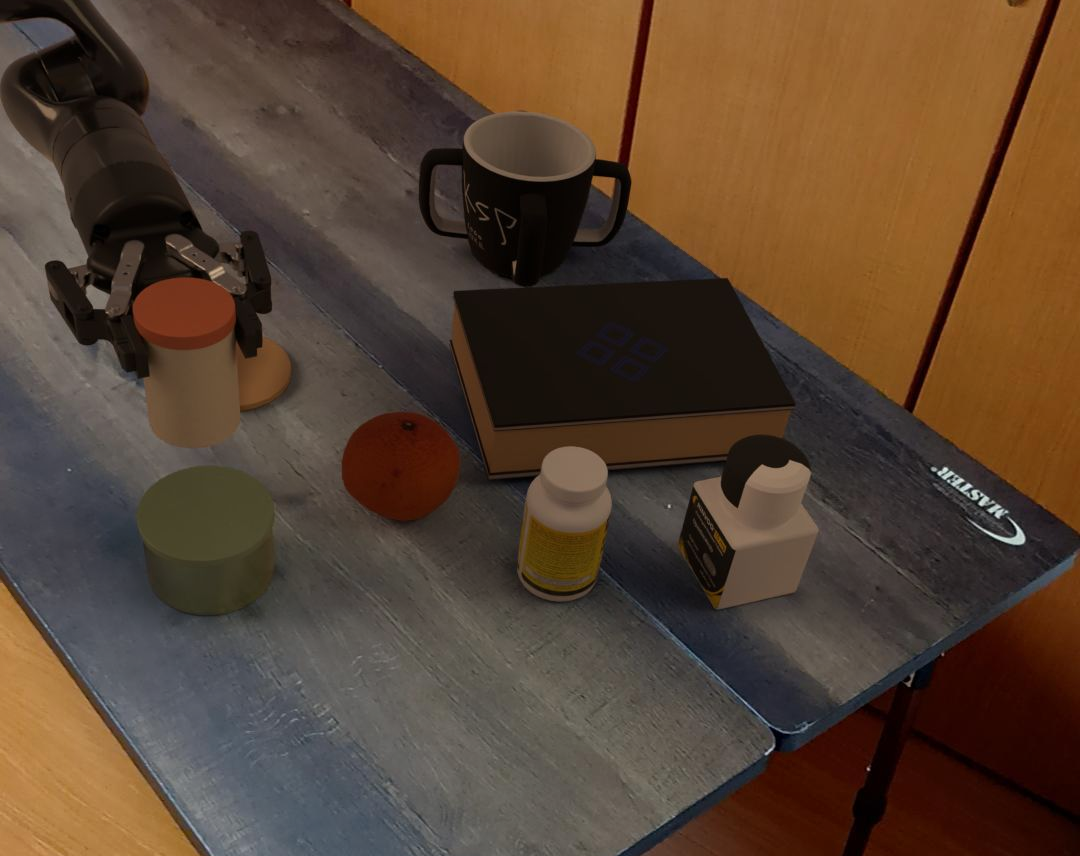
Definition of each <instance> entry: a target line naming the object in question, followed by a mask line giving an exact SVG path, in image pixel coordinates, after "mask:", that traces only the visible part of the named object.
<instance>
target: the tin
mask: <svg viewBox="0 0 1080 856" xmlns="http://www.w3.org/2000/svg"><path fill="white" fill-rule="evenodd" d="M275 510H276V509H275V504H274V500H273V497H272V495H271V493H270V491H269V490H268V489H267V488H266V486H265V485H263V483H262V482H261V481H260V480H258V479H257V478H256V477H254V476H253V475H250V474H249V473H246V472H244V471H242V470H239V469H236V468H234V467H233V468H232V467H228V466H221V465H198V466H192V467H191V466H190V467H187V468H182V469H179V470H177V471H174V472H171V473H169V474H167V475H165V476H163V477H162V478H160V479H158V480H157V481H156V482H155V483H153V484H151V486H150V487H149V488H147V490H146V491H145V492H144V494H143V495H142V497H141V499H140V500H139V502H138V505H137V508H136V514H135V515H136V516H135V518H136V520H135V521H136V526H137V531H138V534H139V537H140V539H141V541H142V545H143V546H142V547H143V552H144V558H145V566H146V571H147V578H148V582H149V584H150V587H151V589H152V591H153V592H154V594H155V595H156V596H157V598H158V599H160V600H161V602H163V603H164V604H166V605H167V606H169V607H170V608H172V609H174V610H177V611H179V612H182V613H185V614H190V615H196V616H220V615H225V614H229V613H232V612H236V611H238V610H241V609H243V608H245V607H247V606H248V605H250V604H252V603H254V602H255V601H256V600H258V599H259V598H260V597H261V596H262V595H263V594H264V593H265V592H266V591H267V589H268V588H269V586H270V584H271V583H272V580H273V577H274V574H275V566H276V565H275V547H274V529H273V528H274V525H275V519H276V518H275V517H276V511H275Z"/></svg>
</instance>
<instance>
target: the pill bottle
mask: <svg viewBox="0 0 1080 856" xmlns="http://www.w3.org/2000/svg"><path fill="white" fill-rule="evenodd" d="M608 475H609V470H607V466H606V464H605V463H604V461H603V460H602V459H601V458H600V457H599V456H598V455H597V454H595V453H594V452H592V451H590V450H587V449H584V448H581V447H573V446H568V447H561V448H558V449H555V450H553V451H551V452H550V453H549V454H548V455H547V456H546V457H545V458H544V460H543V463H542V467H541V473H540V475H539V476H535V478H534V479H533V480H532V481H531V483H530V485H529V487H528V488H527V493H526V497H525V503H524V510H523V517H522V522H521V523H522V526H521V530H520V538H519V545H518V552H517V561H516V569H517V570H516V571H517V576H518V578H519V580H520V582H521V584H522V585H523V587H524V588H525V589H527V591H529V592H530V593H531V594H532V595H534V596H536V597H538V598H541V599H543V600H547V601H551V602H559V603H560V602H561V603H562V602H570V601H575V600H577V599H580V598H583V597H584V596H586V595H587V594H588V593H589V592H590V591H591V590H592V589H593V587H595V584H596V583H597V579H598V576H599V572H600V568H601V562H602V558H603V553H604V548H605V545H606V539H607V533H608V528H609V524H610V519H611V515H612V506H613V501H612V500H613V499H612V495H611V493H610V490H609V488H608V487H607V483H608Z"/></svg>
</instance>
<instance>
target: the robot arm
mask: <svg viewBox="0 0 1080 856" xmlns="http://www.w3.org/2000/svg"><path fill="white" fill-rule="evenodd" d="M35 20H52V21H55V22H58V23H60V24H63V25H65V26H66V27H67V28H69V29H70V31H71V32H72V33H73V35H72V36H70V37H69V38H65V39H63V40H61V41H58V42H55V43H53V44H50V45H48V46H46V47H43V48H39V49H38V50H37V51H32V52H30V53H28V54H26V55H23V56H21V57H18V58H16V60H14V61H12V62H11V63H10V64H9V65H7V66H6V68H5V70H4V72H3V73H2V76H1V78H0V102H1V105H2V108H3V110H4V112H5V114H6V117H7V118H8V120H9V121H10V123H11V124H12V125H13V127H14V129H15V130H16V132H18V134H19V135H20V136H21V137H22V138H23V139H24V140H25V141H26V142H27V143H28V144H29V145H30V146H31V147H32V148H33V149H35V151H37V152H38V153H39V154H41V156H43V157H45V158H46V159H47V160H49V161H50V162H51V163H52V164H53V166H54V167H55V169H56V172H57V174H58V177H59V179H60V181H61V183H62V187H63V191H64V198H65V201H66V205H67V209H68V211H69V214H70V220H71V222H72V225H73V226H74V228H75V229H76V231H77V233H78V235H79V237H80V240H81V243H82V245H83V247H84V250H85V252H86V255H87V258H86V264H81V265H77V266H73V267H69V268H68V267H67V266H66V265H67V264H65V263H64V262H63V261H61V260H57V259H55V260H50V261H47V262H46V263H45V264H44V271H45V275H46V276H45V277H46V282H47V287H48V293H49V298H50V301H51V302H52V304H53V305H54V307H55V308H56V310H57V312H58V314H59V315H60V316H61V318H62V319H63V321H64V322H65V324H66V325H67V327H68V329H69V330H70V331H71V333H72V335H73V336H74V338H75V340H76V341H77V343H78V344H80V345H82V346H88V347H89V346H93V345H95V344H96V343H97V342H98V341H99V340H102V341H107V342H109V344H110V345H112V348H113V350H114V352H115V354H116V357H117V359H118V362H119V364H120V367H121V369H122V370H123V371H125V373H133V372H134V373H135V376H136V378H137V380H141V379H143V378H146V377H150V373H149V364H148V357H147V352H146V348H145V346H144V343H143V341H142V339H141V336H140V334H139V332H138V330H137V328H136V326H135V322H134V315H133V304H134V301H135V299H136V297H137V296H138V295H139V294H140V293H141V292H142V291H143V290H144V289H145V288H147V287H149V286H150V285H152V284H154V283H157V282H160V281H163V280H167V279H172V278H184V277H188V278H199V279H204V280H207V281H211V282H213V283H216V284H218V285H220V286H221V287H223V288H224V289H226V290H227V291H228V292H229V293H230V295H231V296H232V298H233V299H234V302H235V311H236V323H235V338H236V341H237V343H238V345H239V347H240V349H241V351H242V353H243V355H244V357H245V359H247V358H252V357H257V348H262V345H263V337H264V336H263V323H262V321H261V320H260V317H259V315H268V314H269V313H271V312H272V311H273V301H272V276H271V273H270V269H269V266H268V262H267V259H266V256H265V252H264V249H263V245H262V242H261V239H260V236H259V233H258V232H256V231H254V230H244V231H242V232H240V235H239V241H235V242H221V243H218V241H217V240H216V239H215V238H214V237H212V236H211V235H208V233H206V232H205V231H204V230H203V227H202V225H201V223H200V220H199V219H198V217H197V215H196V212H195V211H194V209H193V207H192V205H191V202H190V201H189V200H188V197H187V195H186V193H185V191H184V190H183V188H182V186H181V184H180V181H179V180H178V178H177V176H176V174H175V172H174V170H173V169H172V166H171V165H170V164H169V162H168V160H167V159H166V158H165V157H164V155H163V154H162V153H161V152H160V151H159V148H158V147H157V144H156V142H155V141H154V139H153V137H152V135H151V133H150V131H149V129H148V128H147V125H146V124H145V122H144V120H143V118H142V116H143V115H144V114H145V113H146V112H147V109H148V108H149V103H150V98H151V95H150V94H151V89H150V88H151V87H150V82H149V78H148V74H147V72H146V70H145V68H144V66H143V65H142V63H141V62H140V60H139V59H138V57H137V56H136V54H135V53H134V52H133V50H132V49H131V48H130V47H129V45H128V43H126V41H124V39H123V38H122V37H121V36H120V34H118V32H116V30H115V29H114V28H113V26H111V25H110V23H109V21H107V20H106V19H105V18H104V16H103V15H102V14H101V12H100V11H99V10H98V9H97V7H96V6H95V5H94V3H93V2H92V1H91V0H0V24H15V23H21V22H27V21H35ZM223 264H226V265H228V266H230V268H231V269H232V270H233V271H235V272H236V275H237V277H239V278H244V280H245V283H243V282H241V281H239V280H238V279H236V278H235V277H234V276H232V275H230V274H229V273H228V272H227V271H226V269H225V267H224V265H223ZM90 285H91V286H92V287H94V289H97V290H99V291H101V292H103V293H105V294H108V295H109V297H108V300H107V302H106V304H105V308H94V306H93V304H92V302H91V301H90V300H89V298H88V297H87V294H88V290H87V288H88V287H89V286H90ZM258 314H259V315H258Z"/></svg>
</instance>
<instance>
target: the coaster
mask: <svg viewBox="0 0 1080 856" xmlns="http://www.w3.org/2000/svg"><path fill="white" fill-rule="evenodd" d="M236 353H237V369H238V385H239V401H240V412H245V411H249V410H254V409H257V408H260V407H263V406H265V405H268V404H269V403H271V402H273V401H274V400H276V399H277V398H279V397H280V396H281V395H282V394H283V393H285V391H286V389H287V388H288V387H289V384H290V382H291V379H292V363H291V360H290V357H289V356H288V353H287V352H286V351H285V350H284V349H283V347H282V346H280V345H279V344H278V343H276V342H274V341H273V340H272V339H270V338H268V337H265V336H263V345H262V348H257V357H252V358H247V359H245V357H244V355H243V353H242V351H241V349H240V347H239V345H238V343H237V341H236Z"/></svg>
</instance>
